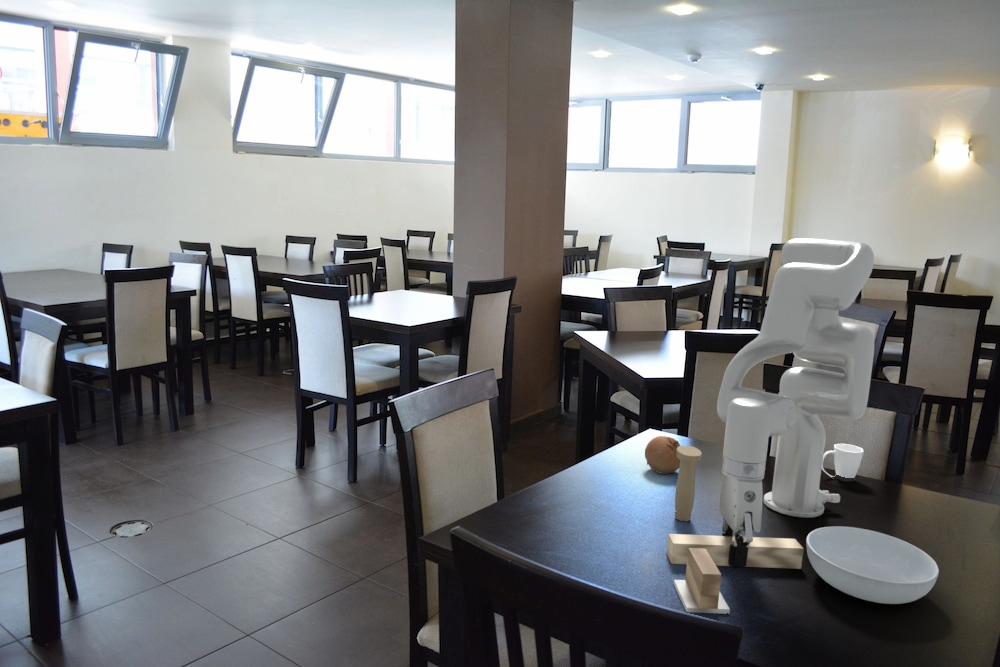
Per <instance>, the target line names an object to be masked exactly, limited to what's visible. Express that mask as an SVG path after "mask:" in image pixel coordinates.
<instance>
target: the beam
mask: <svg viewBox="0 0 1000 667" xmlns="http://www.w3.org/2000/svg"><path fill="white" fill-rule="evenodd" d="M732 538H733V536H722V535H713V534H712V535H710V534H709V535H708V534H707V535H706V534H684V533H683V534H682V533H668V534H667V544H666V555H667V557H668V559H669V562H670V564H672V565H687V557H688V548H703V549H706V550H707V552H708V553H709V555H710V557H711V558H712V560H713V562H714V563H715V565H716V567H718V566H719V567H720V566H723V567H731V566H730V565H729V564H728V559H729V550H730V544H732ZM738 538H739V537H738ZM804 550H805V549H804V547H803V546H802V545H801V544H800V542H798V540H797V539H796V538H789V537H787V538H784V537H782V538H781V537H759V536H758V537H757V536H753V542H751V543H749V548H748V555H747V563H746V566H745V567H744V568H746V567H748V568H769V569H770V568H773V569H797V570H801V569H802V565H803V564H802V563H803V556H804Z"/></svg>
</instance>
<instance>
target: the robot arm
mask: <svg viewBox="0 0 1000 667" xmlns="http://www.w3.org/2000/svg"><path fill="white" fill-rule="evenodd" d="M781 261H782V265H781V266H780V267H779V268H778V269H777V271H776V273H775V275H774V278H773V281H772V286H771V289H770V291H769V297H768V300H767V303H766V304H767V305H766V309H765V313H764V317H763V319H762V323H761V327H760V331H759V334H758V335H757V336H756V337H755V338H754V339H753V340H751V341H750V342H748V343H747V344H746V345H744V346H743V348H741V349H740V350H739V351H738V352H737V353H736V354H735V355H734V357H733V358H732V359H731V361H730V362H729V363H728V365H727V367H726V369H725V371H724V374H723V378H722V382H721V385H720V388H719V392H718V397H717V402H716V403H717V404H716V412H717V416H718V417H719V418H720V420H721V421H722V422H723V423H725V431H724V432H725V433H724V440H723V452H722V458H721V469H720V470H721V471H720V472H721V473H722V474H723V477H722V484H721V489H720V497H719V512H720V515H721V516H722V521H723V522H722V528H721V531H722V532H721V536H733V538H732V544H730V550H729V559H728V564H729V565H730V566H729V567H740V568H741V567H744V568H746V567H745V566H746V563H747V555H748V548H749V543H751V542H753V537H754V535H753V532H754V534H759V533H760V532H761V528H762V516H763V503H764V505H765V506H766V507H768V508H769V509H771V510H772V511H775V512H777V513H780V514H783V515H787V516H790V517H794V518H795V517H797V518H805V519H806V518H808V519H809V518H816V517H820V516H821V515H823V514H824V511H825V505H824V504H826V503H829V502H830V503H835V504H837V503H840V502H841V495H840V494H839V493H830V491H829V490H824V489H822V490H821V489H820V485H821V483H820V482H821V477H822V476H821V474H822V461H823V454H824V453H825V446H826V437H827V436H826V430H825V427H824V423H823V422H822V420H821V419H820V417H819V416H825V417H829V418H835V419H838V420H845V421H857V420H859V419H861V418H862V417H863V416H864V414H865V412H866V410H867V406H868V402H869V394H870V388H871V380H872V379H871V378H872V371H873V363H874V355H875V338H874V333H873V332H872V330H871V329H870V328H869V327H867V326H865V325H863V324H861V323H853V322H845V321H841V320H840V319H839V311H840V312H841V311H845V310H847V309H848V308H850V307H851V305H852V304H853V303H854V302H855V300H856V299H857V297H858V295H859V293H860V292H861V290H862V289H863V287H864V286H865V285H866V283H867V282H868V280H869V278H870V276H871V274H872V272H873V269H874V264H875V257H874V252H873V249H872V247H871V246H870V245H869V244H867V243H865V242H861V241H852V240H840V239H839V240H837V239H828V238H827V239H826V238H813V237H811V238H810V237H808V238H807V237H803V238H802V237H799V238H792V239H789V240H788V241H786V242H785V243H784V244H783V245H782V250H781ZM787 354H793V355H794V356H795V358H797V359H798V360H801V361H802V362H803V361H804V362H807V363H812V364H817V365H823V366H828V367H829V366H830V367H834V368H835V367H836V368H840V369H842V370H843V371H844V373H842V372H841V373H840V372H837V371H836V372H835V371H832V370H831V371H830V370H825V369H820V368H814V367H806V366H795V367H791V368H788V369H786V370H785V371H784V372H783V374H782V375H781V377H780V379H779V380H780V381H779V394H778V393H772V392H767V391H763V390H759V389H754V388H753V389H752V388H748V387H743V386H742V384H743V380H744V378H745V377H746V375H747V373H748V372H749V371H750V370H751V369H752V368H753V367H755V365H756V366H757V364H759V363H761V362H764V361H765V360H768V359H771V358H774V357H779V356H782V355H787ZM775 436H777V444H776V453H775V461H774V462H775V463H774V471H773V479H772V489H771V491H769V492H767V493H765V494H763V481H762V480H763V479H764V478H765V473H766V472H765V471H766V464H767V454H768V446H769V438H770V437H775ZM823 462H824V461H823ZM741 534H742V536H740V535H741ZM738 537H739V538H738Z"/></svg>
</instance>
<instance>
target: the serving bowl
mask: <svg viewBox="0 0 1000 667" xmlns="http://www.w3.org/2000/svg"><path fill="white" fill-rule="evenodd" d="M805 541H806V542H805V543H806V554H807V558H808V561H809V562H810V564H811V567H812V568H813V569H814V571H815V572H816V573H817V575H818V576H819V577H820V578H822V580H823V581H825V582H826V583H828V584H829V585H830V586H832V587H833V588H835V589H837V590H838V591H840V592H842V593H844V594H846V595H848V596H853V597H855V598H857V599H860V600H864V601H867V602H873V603H878V604H886V605H888V604H889V605H902V604H907V603H912V602H915V601H917V600H919V599H921V598H923V597H924V596H926V595H927V594H928V593H929V592H930V591H931V590H932V589H933V587H934V586H935V584H936V582H937V578H938V577H939V573H940V571H939V567H938V564H937V562H936V561H935V560H934V559H933V557H931V556H930V555H929V554H928V553H926V552H925V551H924V550H922V549H920V548H919V547H917V546H915V545H913V544H911V543H909V542H907V541H905V540H902V539H900V538H898V537H895V536H891V535H889V534H886V533H884V532H883V533H882V532H879V531H875V530H871V529H864V528H861V527H854V526H842V525H840V526H838V525H836V526H833V525H832V526H824V527H819V528H815V529H814V530H812V531H810V532H809V533H808V535H807V536H806V539H805Z"/></svg>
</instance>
